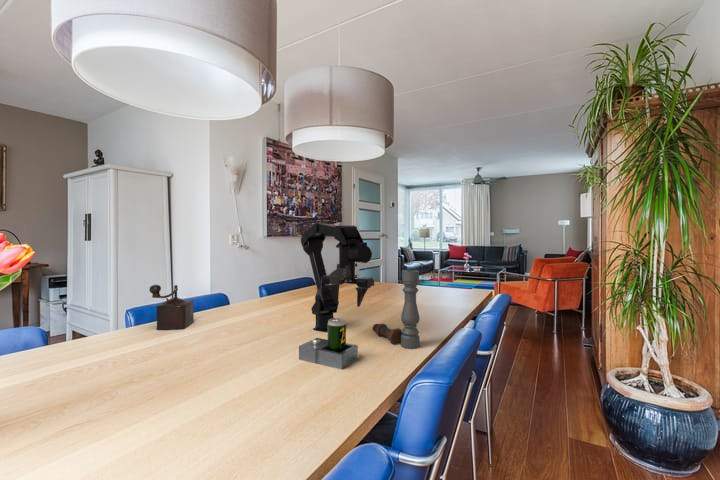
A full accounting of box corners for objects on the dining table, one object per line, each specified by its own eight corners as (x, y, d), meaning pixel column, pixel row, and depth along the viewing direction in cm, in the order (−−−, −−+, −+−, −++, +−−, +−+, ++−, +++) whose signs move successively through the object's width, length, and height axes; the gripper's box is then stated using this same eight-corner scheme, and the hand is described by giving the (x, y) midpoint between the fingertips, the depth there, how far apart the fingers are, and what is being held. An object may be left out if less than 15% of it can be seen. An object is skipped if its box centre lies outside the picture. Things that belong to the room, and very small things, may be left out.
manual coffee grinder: (166, 323, 141) (165, 279, 141) (194, 322, 143) (194, 279, 142) (147, 334, 126) (146, 285, 126) (178, 333, 127) (178, 285, 127)
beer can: (325, 363, 98) (325, 322, 98) (330, 356, 104) (330, 317, 103) (343, 364, 97) (343, 323, 97) (347, 357, 103) (347, 318, 102)
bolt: (377, 337, 129) (399, 348, 116) (367, 332, 127) (388, 342, 114) (384, 323, 130) (406, 332, 117) (374, 317, 128) (395, 326, 115)
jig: (298, 359, 102) (298, 342, 101) (317, 350, 109) (316, 334, 109) (341, 369, 94) (341, 351, 94) (357, 358, 102) (357, 342, 102)
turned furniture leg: (420, 344, 116) (421, 270, 115) (417, 350, 110) (418, 272, 109) (402, 342, 118) (403, 269, 117) (398, 347, 112) (399, 271, 111)
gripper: (311, 261, 118) (312, 306, 118) (359, 264, 109) (359, 313, 109) (330, 259, 127) (330, 301, 128) (374, 261, 118) (374, 306, 119)
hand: (347, 305), depth 121 cm, fingers open, 9 cm apart
